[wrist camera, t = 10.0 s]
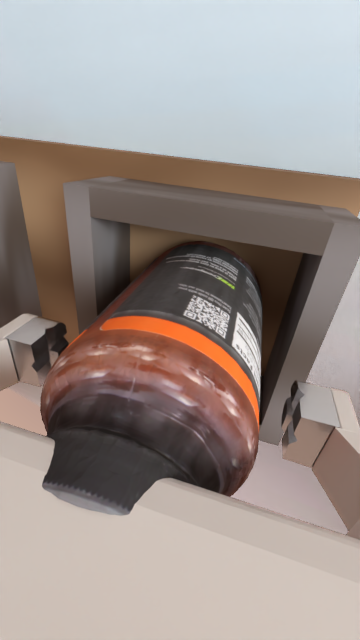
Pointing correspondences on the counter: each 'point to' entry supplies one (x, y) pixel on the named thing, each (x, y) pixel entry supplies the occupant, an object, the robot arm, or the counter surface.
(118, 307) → the supplement bottle
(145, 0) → the counter surface
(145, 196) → the wood and grey tray
